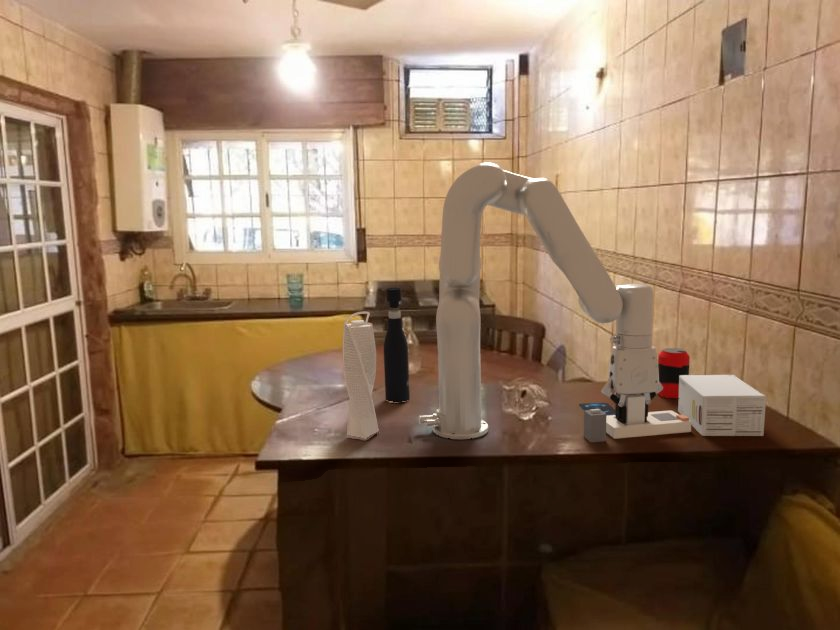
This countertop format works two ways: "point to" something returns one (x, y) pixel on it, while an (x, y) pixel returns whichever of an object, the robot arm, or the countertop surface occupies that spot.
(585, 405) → the smartphone
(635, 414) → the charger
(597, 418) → the cable plug
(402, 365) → the wine bottle
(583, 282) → the robot arm
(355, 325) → the skyscraper
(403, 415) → the countertop surface
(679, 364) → the soda can
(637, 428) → the power strip
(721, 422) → the supplement box
